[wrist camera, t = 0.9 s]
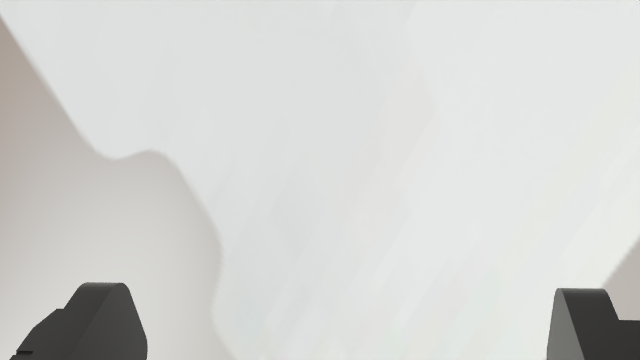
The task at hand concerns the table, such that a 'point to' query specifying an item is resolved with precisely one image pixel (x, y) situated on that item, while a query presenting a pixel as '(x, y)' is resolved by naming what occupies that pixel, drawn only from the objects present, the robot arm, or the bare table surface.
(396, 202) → the table surface
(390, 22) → the table surface
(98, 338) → the robot arm
